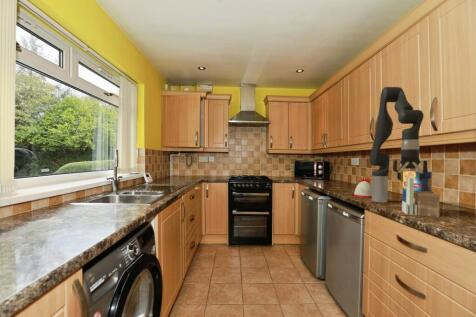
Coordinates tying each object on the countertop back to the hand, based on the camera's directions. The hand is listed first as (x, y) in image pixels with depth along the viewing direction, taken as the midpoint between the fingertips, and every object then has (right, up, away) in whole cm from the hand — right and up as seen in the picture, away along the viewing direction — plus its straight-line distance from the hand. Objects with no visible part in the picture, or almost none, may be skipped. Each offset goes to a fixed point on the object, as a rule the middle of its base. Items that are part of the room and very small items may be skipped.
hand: (409, 180), depth 122 cm
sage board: (-1, -16, -1) cm, 17 cm away
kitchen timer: (+8, -18, +59) cm, 62 cm away
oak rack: (+6, -18, -3) cm, 19 cm away
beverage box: (+10, -18, +8) cm, 22 cm away
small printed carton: (0, -18, 0) cm, 18 cm away
